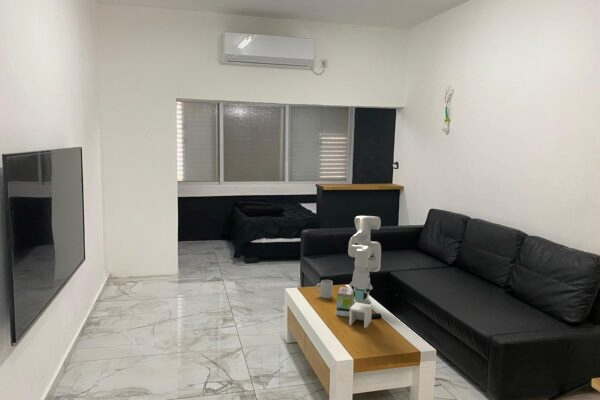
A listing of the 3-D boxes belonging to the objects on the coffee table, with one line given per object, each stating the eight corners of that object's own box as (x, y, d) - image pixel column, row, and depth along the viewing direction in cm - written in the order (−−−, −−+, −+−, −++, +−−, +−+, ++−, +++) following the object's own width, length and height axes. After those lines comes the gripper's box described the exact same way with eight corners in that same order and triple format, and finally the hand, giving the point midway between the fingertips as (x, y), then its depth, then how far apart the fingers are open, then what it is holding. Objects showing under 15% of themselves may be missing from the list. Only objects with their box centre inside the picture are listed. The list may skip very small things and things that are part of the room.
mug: (331, 294, 333) (331, 279, 332) (333, 298, 325) (333, 283, 324) (314, 294, 332) (315, 279, 331) (316, 298, 324) (316, 283, 322)
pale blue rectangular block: (360, 293, 287) (360, 284, 286) (368, 294, 285) (368, 285, 285) (354, 299, 277) (355, 290, 276) (362, 301, 275) (363, 291, 274)
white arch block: (355, 318, 290) (355, 302, 288) (371, 321, 286) (371, 304, 284) (349, 324, 279) (349, 308, 277) (365, 328, 275) (366, 311, 273)
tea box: (351, 317, 291) (352, 294, 289) (336, 315, 293) (336, 293, 291) (353, 308, 306) (354, 287, 304) (338, 307, 308) (339, 285, 306)
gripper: (376, 269, 275) (375, 298, 278) (349, 265, 282) (348, 293, 285) (373, 272, 269) (372, 302, 271) (345, 268, 275) (344, 297, 278)
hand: (360, 297), depth 278 cm, fingers closed on pale blue rectangular block, 5 cm apart
